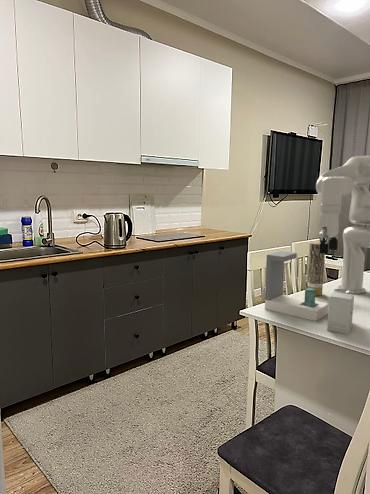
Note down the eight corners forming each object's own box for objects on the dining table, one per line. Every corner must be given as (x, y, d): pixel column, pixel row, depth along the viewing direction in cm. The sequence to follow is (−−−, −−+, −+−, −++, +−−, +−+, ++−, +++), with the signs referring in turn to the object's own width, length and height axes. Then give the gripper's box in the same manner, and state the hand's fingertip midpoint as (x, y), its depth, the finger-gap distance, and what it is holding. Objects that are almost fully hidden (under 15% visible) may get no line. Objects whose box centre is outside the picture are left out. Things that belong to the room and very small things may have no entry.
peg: (302, 312, 152) (304, 288, 150) (312, 312, 152) (314, 288, 150) (305, 315, 148) (306, 290, 146) (315, 315, 148) (316, 291, 146)
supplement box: (348, 334, 128) (351, 299, 126) (326, 330, 132) (328, 296, 130) (352, 328, 135) (354, 294, 133) (330, 324, 138) (332, 291, 136)
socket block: (278, 302, 165) (280, 251, 161) (328, 313, 151) (331, 257, 147) (264, 308, 156) (266, 254, 152) (316, 321, 142) (319, 261, 138)
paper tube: (322, 293, 179) (325, 241, 175) (321, 296, 173) (324, 243, 169) (308, 291, 182) (310, 241, 178) (306, 295, 176) (309, 242, 172)
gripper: (329, 207, 156) (327, 247, 159) (312, 210, 143) (310, 253, 147) (347, 207, 151) (345, 249, 154) (331, 211, 139) (329, 256, 142)
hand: (328, 251), depth 150 cm, fingers open, 9 cm apart
